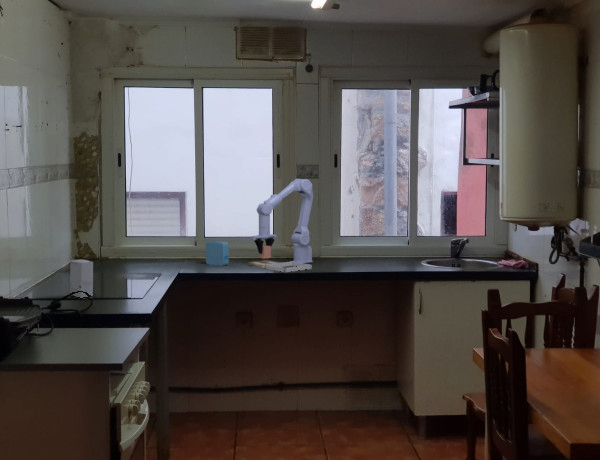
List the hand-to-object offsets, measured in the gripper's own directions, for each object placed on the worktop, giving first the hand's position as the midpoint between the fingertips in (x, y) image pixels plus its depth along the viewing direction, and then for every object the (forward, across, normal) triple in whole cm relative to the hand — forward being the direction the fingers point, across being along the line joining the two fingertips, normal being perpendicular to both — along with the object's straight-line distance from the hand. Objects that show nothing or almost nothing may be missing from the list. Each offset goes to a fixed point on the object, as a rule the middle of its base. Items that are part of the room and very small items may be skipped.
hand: (264, 253), depth 397 cm
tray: (+6, -2, +17) cm, 18 cm away
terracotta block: (+2, 0, 0) cm, 2 cm away
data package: (+7, +17, -18) cm, 26 cm away
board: (+6, 0, 0) cm, 6 cm away
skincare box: (+7, +109, +20) cm, 111 cm away
